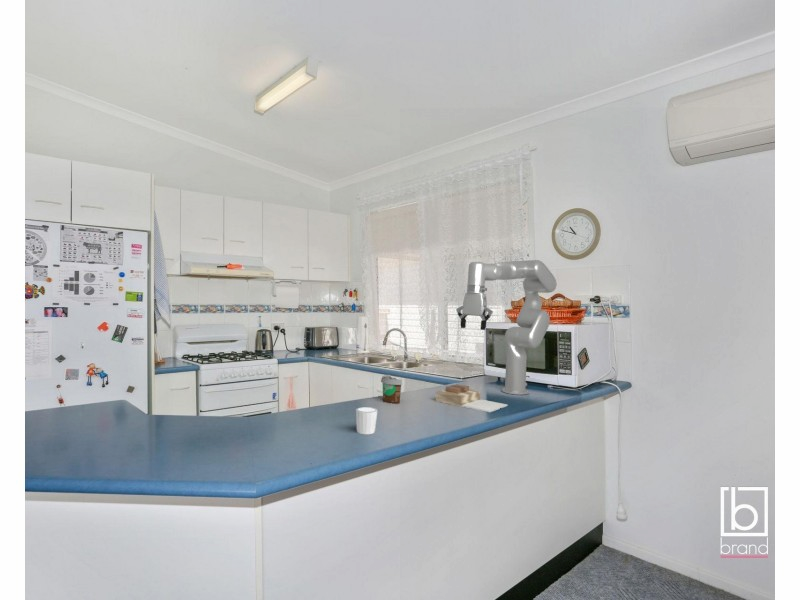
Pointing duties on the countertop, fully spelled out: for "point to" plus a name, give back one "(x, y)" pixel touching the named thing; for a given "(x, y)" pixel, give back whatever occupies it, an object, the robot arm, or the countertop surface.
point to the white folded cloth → (484, 405)
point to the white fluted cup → (366, 420)
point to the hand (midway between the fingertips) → (472, 328)
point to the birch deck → (457, 397)
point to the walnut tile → (457, 389)
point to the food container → (391, 389)
